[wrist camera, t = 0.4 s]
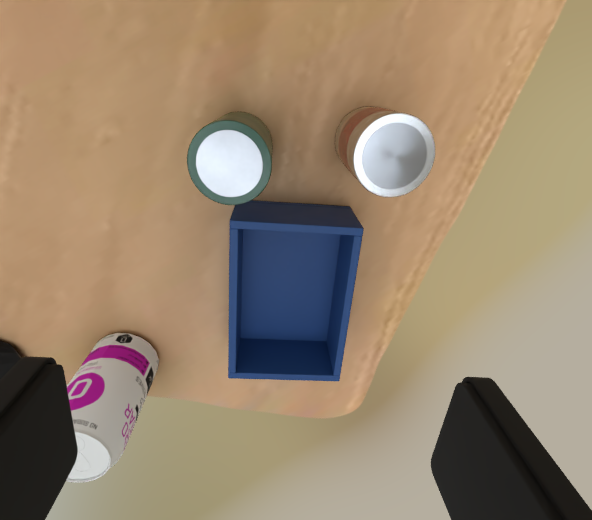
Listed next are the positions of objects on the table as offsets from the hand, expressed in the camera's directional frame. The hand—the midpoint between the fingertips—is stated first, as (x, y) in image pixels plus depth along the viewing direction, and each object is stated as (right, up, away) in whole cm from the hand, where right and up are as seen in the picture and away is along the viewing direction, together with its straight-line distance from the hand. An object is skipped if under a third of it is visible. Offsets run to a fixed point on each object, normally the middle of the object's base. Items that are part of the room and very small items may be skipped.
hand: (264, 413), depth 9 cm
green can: (-5, +16, +30) cm, 35 cm away
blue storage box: (0, +2, +37) cm, 37 cm away
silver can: (+8, +16, +31) cm, 36 cm away
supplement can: (-21, -9, +41) cm, 47 cm away
